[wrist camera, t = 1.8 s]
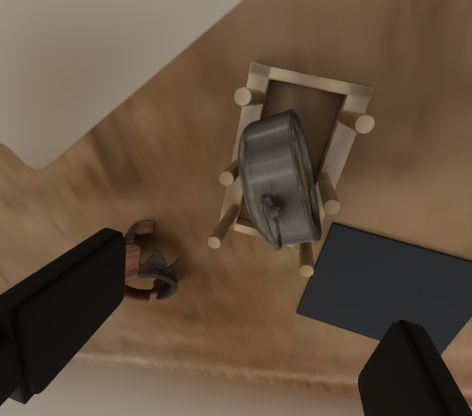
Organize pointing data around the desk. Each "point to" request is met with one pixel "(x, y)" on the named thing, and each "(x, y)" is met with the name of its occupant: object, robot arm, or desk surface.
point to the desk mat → (387, 286)
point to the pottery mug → (148, 267)
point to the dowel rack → (333, 159)
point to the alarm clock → (279, 180)
